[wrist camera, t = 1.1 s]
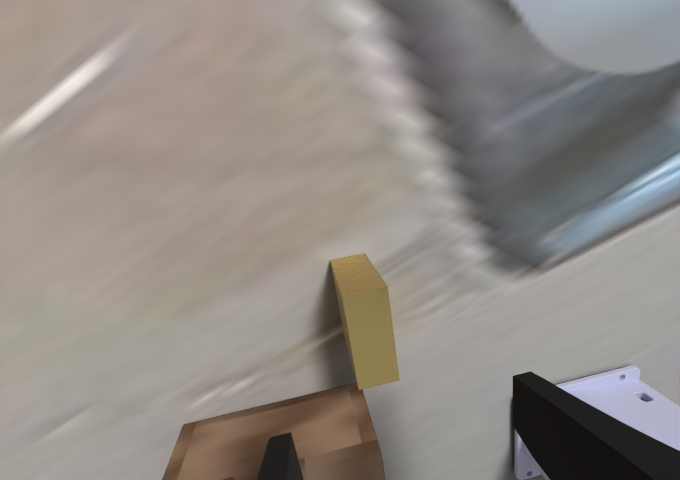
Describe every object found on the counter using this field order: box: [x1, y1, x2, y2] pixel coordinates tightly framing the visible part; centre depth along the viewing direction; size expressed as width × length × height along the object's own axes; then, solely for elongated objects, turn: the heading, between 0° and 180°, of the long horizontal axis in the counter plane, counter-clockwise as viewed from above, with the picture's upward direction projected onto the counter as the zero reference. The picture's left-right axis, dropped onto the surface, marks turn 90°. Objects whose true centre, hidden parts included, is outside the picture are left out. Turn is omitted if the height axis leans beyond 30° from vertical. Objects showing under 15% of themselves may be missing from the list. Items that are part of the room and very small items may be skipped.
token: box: [330, 253, 399, 390], centre depth 17 cm, size 2×5×4 cm, turn 9°
